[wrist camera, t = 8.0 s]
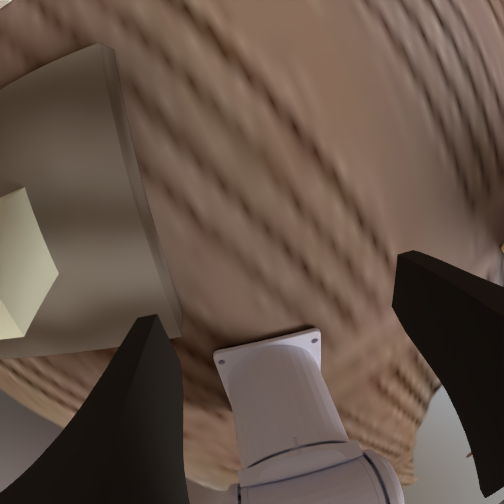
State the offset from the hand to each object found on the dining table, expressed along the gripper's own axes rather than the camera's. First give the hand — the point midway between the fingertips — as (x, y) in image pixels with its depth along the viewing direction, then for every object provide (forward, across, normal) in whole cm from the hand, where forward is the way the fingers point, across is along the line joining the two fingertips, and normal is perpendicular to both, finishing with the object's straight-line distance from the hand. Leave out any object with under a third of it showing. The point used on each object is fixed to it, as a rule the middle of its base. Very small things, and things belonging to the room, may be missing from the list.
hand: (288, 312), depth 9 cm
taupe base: (+9, +13, -2) cm, 16 cm away
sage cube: (+7, +13, -2) cm, 15 cm away
